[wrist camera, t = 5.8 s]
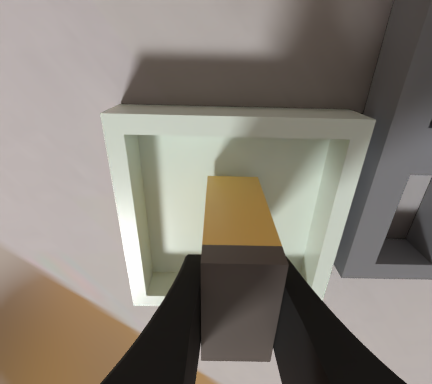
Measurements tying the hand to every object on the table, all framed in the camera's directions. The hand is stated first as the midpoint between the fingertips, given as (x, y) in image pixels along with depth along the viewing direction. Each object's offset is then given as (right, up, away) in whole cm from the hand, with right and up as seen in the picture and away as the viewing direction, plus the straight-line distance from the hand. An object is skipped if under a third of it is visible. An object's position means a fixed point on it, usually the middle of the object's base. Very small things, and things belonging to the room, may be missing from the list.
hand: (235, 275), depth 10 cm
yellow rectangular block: (0, +2, +4) cm, 4 cm away
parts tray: (0, +2, +5) cm, 5 cm away
